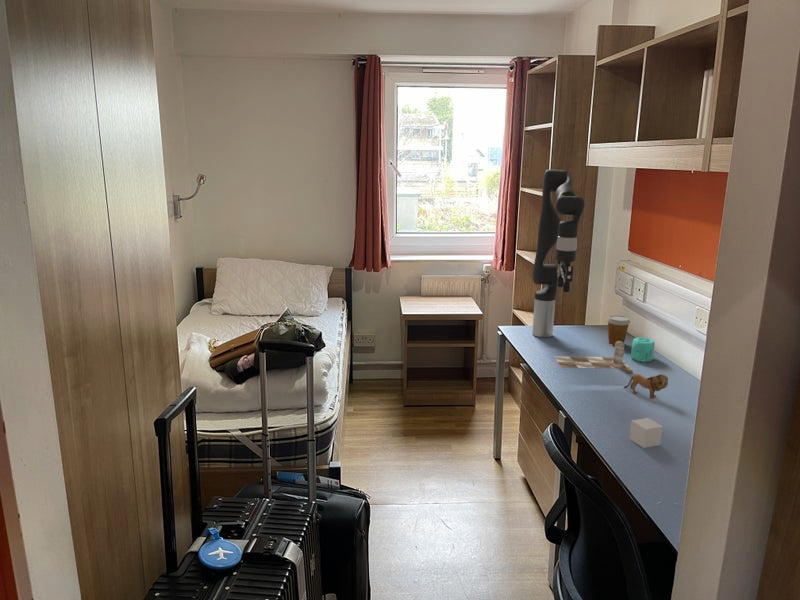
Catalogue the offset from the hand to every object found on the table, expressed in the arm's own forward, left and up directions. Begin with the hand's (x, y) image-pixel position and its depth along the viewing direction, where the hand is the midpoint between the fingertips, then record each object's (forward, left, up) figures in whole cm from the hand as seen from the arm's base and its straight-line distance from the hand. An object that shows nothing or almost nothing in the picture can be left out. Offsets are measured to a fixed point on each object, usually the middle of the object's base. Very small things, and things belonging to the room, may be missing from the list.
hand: (563, 289), depth 230 cm
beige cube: (+67, +9, -30) cm, 74 cm away
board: (+4, +12, -30) cm, 33 cm away
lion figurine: (+32, +23, -30) cm, 50 cm away
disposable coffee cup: (-24, +32, -30) cm, 50 cm away
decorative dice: (-5, +36, -30) cm, 47 cm away
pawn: (+7, +22, -29) cm, 37 cm away
